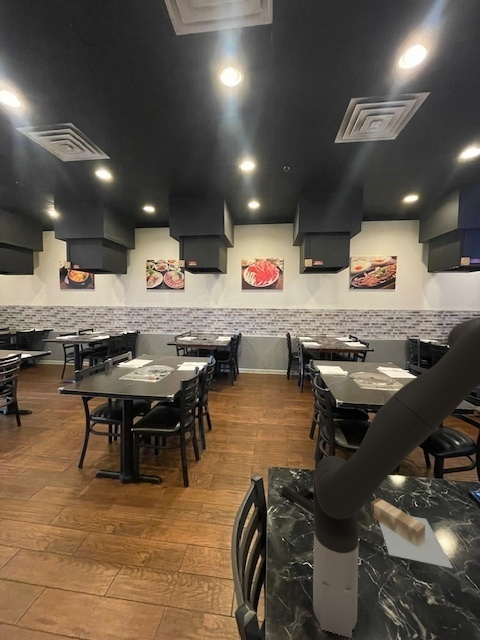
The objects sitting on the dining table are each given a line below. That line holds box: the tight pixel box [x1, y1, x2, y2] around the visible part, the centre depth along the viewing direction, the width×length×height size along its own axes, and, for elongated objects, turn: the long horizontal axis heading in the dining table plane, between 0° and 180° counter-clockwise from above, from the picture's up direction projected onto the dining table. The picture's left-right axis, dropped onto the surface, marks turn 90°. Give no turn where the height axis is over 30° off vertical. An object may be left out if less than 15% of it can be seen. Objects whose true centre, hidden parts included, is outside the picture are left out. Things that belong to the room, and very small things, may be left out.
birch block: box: [370, 497, 425, 547], centre depth 86 cm, size 4×4×14 cm
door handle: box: [281, 486, 314, 517], centre depth 98 cm, size 3×20×16 cm
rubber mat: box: [378, 516, 454, 569], centre depth 83 cm, size 18×15×1 cm
